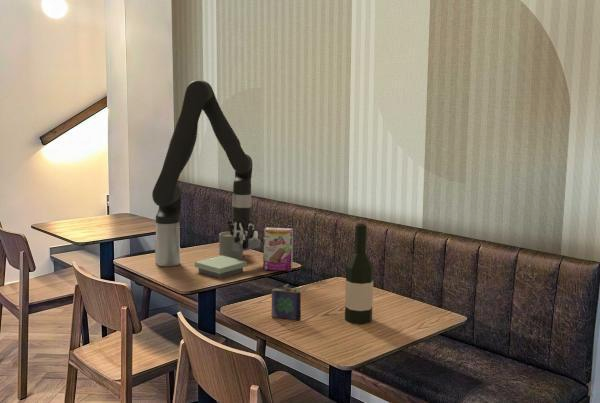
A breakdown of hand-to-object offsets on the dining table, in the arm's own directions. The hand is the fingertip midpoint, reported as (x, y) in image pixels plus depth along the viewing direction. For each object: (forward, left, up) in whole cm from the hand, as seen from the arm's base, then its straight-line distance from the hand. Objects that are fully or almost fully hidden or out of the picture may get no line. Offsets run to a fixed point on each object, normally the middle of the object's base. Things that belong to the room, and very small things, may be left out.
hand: (241, 247), depth 242 cm
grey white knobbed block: (0, +3, -1) cm, 3 cm away
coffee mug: (-15, +10, -8) cm, 20 cm away
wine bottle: (+69, -18, -8) cm, 72 cm away
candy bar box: (+13, +7, -8) cm, 17 cm away
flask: (+52, -32, -8) cm, 62 cm away
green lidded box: (-1, -10, -8) cm, 13 cm away
